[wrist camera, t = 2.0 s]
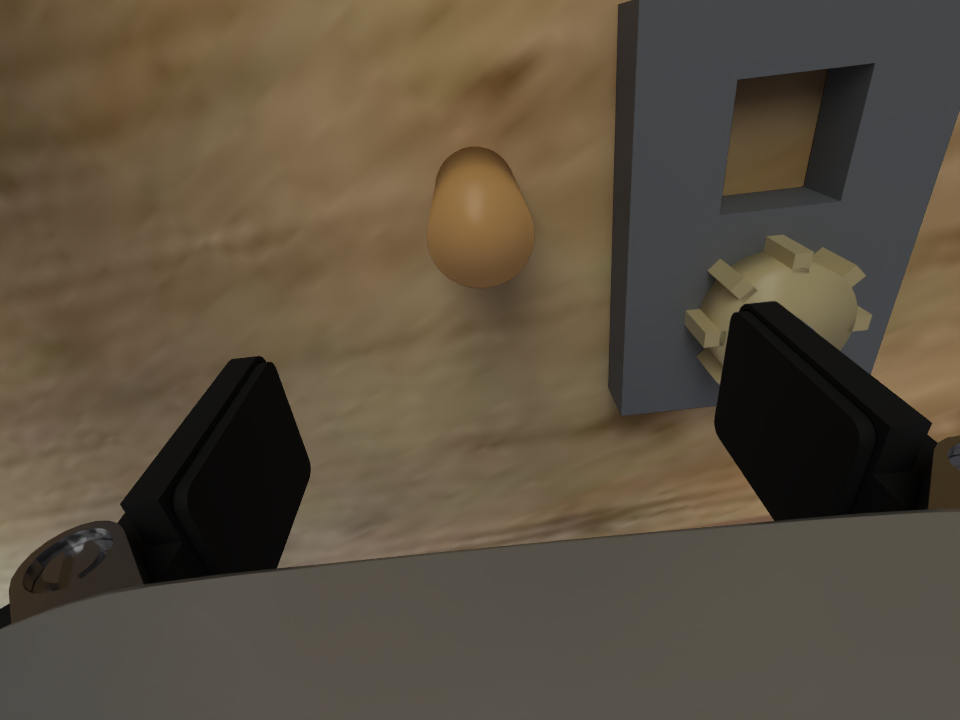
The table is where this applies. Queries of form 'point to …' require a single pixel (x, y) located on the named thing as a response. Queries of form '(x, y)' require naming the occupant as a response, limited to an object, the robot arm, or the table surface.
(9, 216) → the table surface
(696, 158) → the housing
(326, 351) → the table surface
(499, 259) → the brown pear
